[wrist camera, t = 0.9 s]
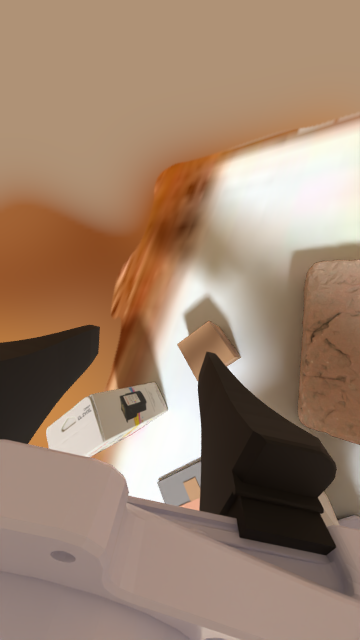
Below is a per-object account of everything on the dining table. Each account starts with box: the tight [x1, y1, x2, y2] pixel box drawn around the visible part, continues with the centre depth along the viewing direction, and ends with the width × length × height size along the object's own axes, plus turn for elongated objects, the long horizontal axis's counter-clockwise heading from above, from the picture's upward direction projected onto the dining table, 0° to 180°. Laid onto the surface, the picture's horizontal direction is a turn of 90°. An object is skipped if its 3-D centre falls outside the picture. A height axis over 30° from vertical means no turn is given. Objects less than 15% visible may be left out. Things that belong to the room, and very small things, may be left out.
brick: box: [298, 259, 360, 445], centre depth 17 cm, size 17×8×5 cm, turn 172°
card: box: [158, 461, 201, 511], centre depth 22 cm, size 7×10×1 cm
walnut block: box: [177, 321, 241, 381], centre depth 22 cm, size 5×5×5 cm
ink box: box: [46, 382, 168, 457], centre depth 23 cm, size 9×5×12 cm, turn 124°
